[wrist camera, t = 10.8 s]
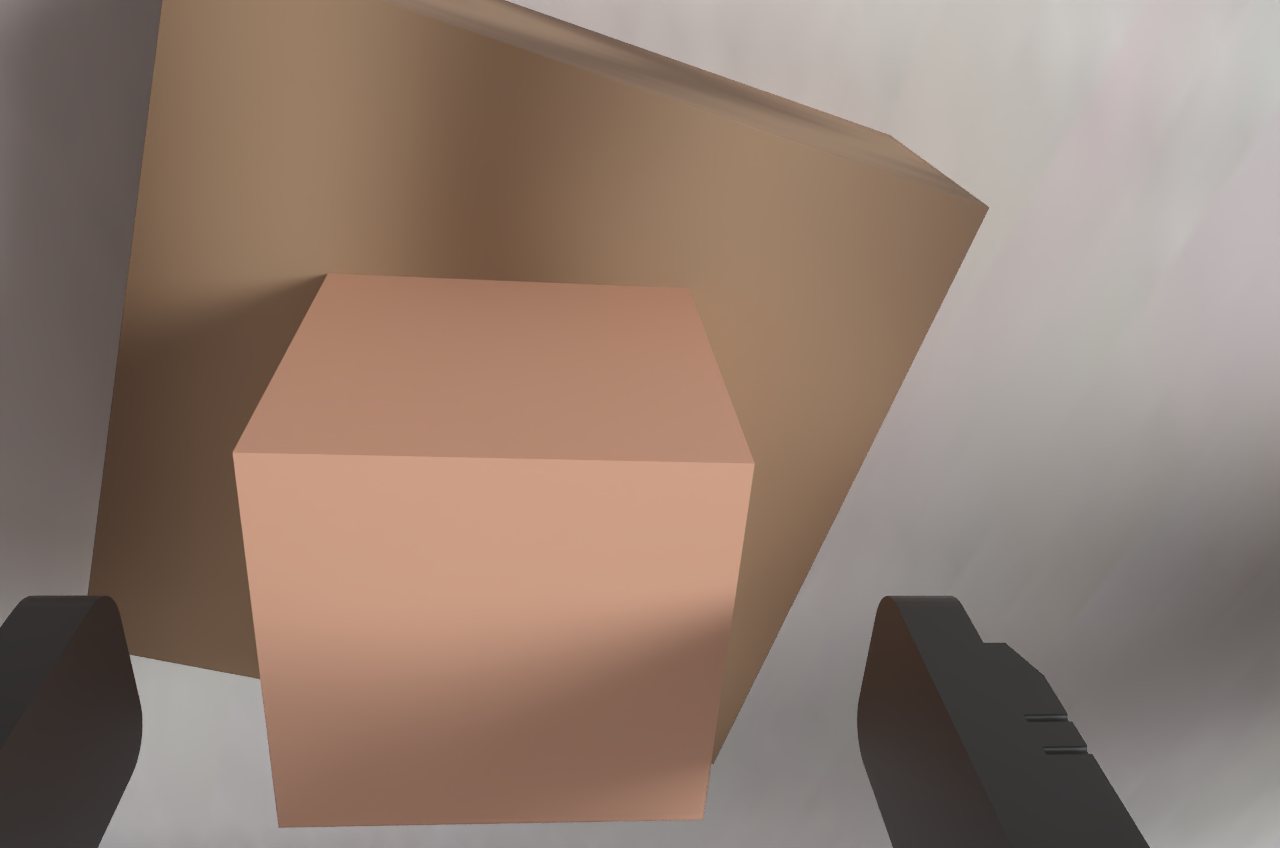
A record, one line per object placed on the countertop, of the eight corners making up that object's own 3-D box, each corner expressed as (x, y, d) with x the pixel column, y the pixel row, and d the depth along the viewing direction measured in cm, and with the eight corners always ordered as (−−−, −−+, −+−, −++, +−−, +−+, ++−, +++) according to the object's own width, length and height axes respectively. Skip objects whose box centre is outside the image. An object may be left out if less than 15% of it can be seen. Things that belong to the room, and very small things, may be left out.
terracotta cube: (689, 288, 15) (754, 463, 10) (659, 575, 17) (703, 819, 12) (327, 273, 14) (233, 452, 10) (348, 572, 16) (278, 827, 12)
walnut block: (883, 130, 19) (988, 207, 14) (680, 597, 23) (713, 763, 19) (269, -85, 16) (171, -72, 12) (177, 484, 21) (81, 645, 17)
